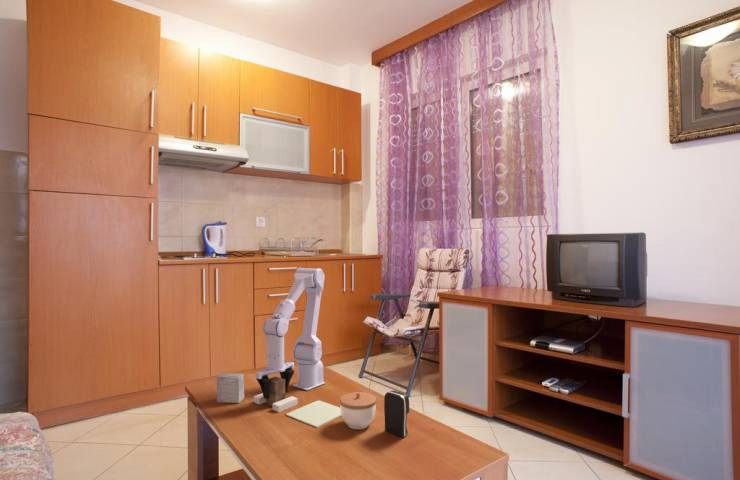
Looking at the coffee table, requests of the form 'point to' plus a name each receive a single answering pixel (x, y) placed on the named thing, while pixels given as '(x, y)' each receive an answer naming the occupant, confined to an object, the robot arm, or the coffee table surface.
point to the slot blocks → (280, 404)
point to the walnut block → (276, 390)
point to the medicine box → (230, 388)
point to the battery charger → (396, 413)
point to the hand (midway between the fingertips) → (275, 394)
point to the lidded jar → (358, 409)
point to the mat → (316, 413)
